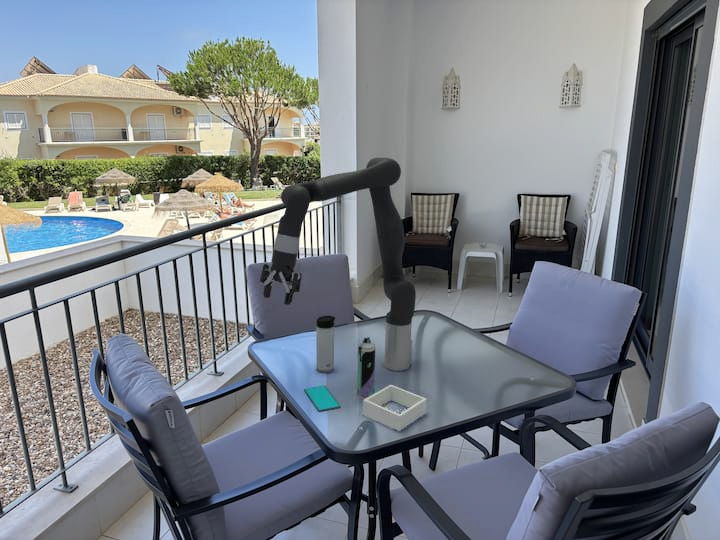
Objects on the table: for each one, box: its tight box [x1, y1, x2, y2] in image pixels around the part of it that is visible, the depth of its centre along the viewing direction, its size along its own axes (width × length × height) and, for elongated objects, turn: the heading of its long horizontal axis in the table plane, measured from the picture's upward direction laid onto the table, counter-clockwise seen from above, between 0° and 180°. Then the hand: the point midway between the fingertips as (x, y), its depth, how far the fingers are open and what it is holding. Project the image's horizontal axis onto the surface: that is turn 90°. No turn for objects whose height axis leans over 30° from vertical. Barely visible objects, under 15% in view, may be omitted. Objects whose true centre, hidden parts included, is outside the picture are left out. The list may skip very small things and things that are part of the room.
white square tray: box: [362, 384, 428, 430], centre depth 152 cm, size 14×14×5 cm
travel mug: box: [315, 315, 336, 374], centre depth 179 cm, size 6×7×20 cm
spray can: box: [356, 336, 376, 401], centre depth 161 cm, size 6×6×20 cm
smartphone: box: [303, 385, 341, 413], centre depth 161 cm, size 7×1×15 cm
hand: (276, 300), depth 157 cm, fingers open, 8 cm apart
